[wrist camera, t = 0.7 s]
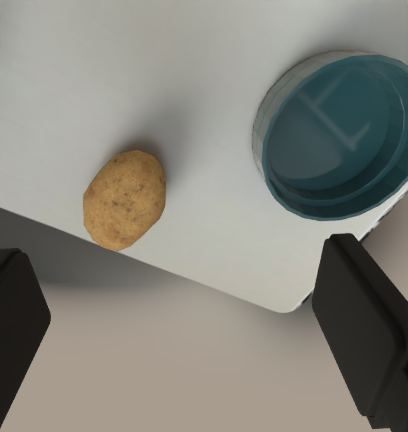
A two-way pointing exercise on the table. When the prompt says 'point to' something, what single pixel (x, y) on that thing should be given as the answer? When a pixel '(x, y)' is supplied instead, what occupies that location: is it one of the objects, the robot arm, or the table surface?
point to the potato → (124, 200)
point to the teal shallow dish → (335, 135)
